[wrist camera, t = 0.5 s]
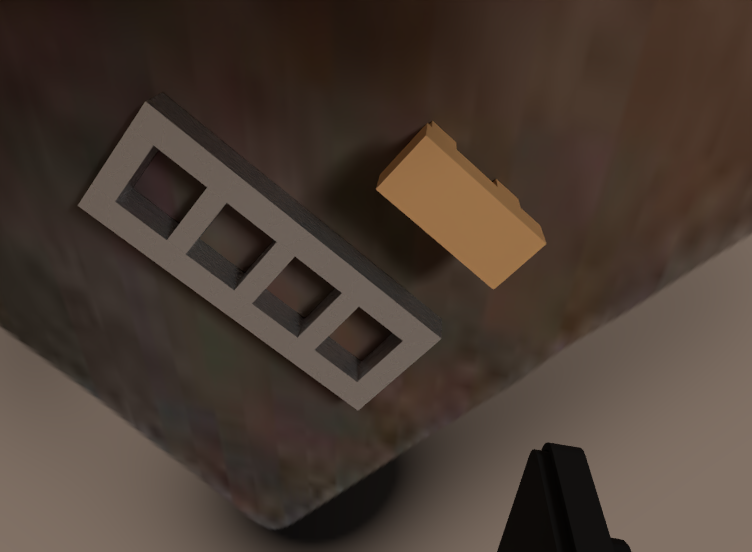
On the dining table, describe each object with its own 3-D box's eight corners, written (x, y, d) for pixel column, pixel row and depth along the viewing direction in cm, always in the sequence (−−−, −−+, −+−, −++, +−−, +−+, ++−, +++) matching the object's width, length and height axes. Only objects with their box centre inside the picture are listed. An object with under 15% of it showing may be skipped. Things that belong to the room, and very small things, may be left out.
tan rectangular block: (429, 106, 37) (425, 135, 32) (532, 201, 40) (546, 244, 34) (386, 153, 39) (375, 189, 33) (487, 242, 41) (493, 289, 36)
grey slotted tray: (162, 92, 39) (145, 101, 37) (441, 319, 44) (441, 338, 42) (96, 192, 42) (77, 205, 40) (362, 389, 48) (358, 410, 46)
